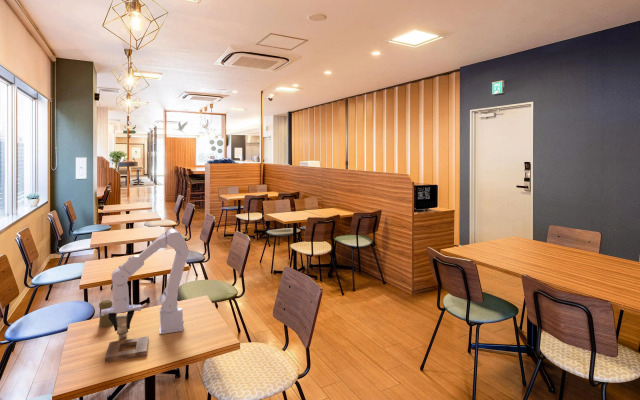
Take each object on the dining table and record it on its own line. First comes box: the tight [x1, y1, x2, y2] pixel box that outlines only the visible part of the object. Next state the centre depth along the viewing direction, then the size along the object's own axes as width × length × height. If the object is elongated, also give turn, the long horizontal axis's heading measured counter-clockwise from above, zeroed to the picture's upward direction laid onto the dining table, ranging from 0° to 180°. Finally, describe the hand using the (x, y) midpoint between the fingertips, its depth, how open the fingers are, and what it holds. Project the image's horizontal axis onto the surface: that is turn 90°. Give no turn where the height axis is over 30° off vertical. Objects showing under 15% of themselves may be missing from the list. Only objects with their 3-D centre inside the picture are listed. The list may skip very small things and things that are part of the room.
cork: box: [98, 299, 113, 329], centre depth 165 cm, size 6×6×11 cm
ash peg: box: [116, 313, 129, 340], centre depth 153 cm, size 4×4×9 cm
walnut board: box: [104, 335, 149, 364], centre depth 144 cm, size 14×12×2 cm
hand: (122, 329), depth 153 cm, fingers closed on ash peg, 4 cm apart
